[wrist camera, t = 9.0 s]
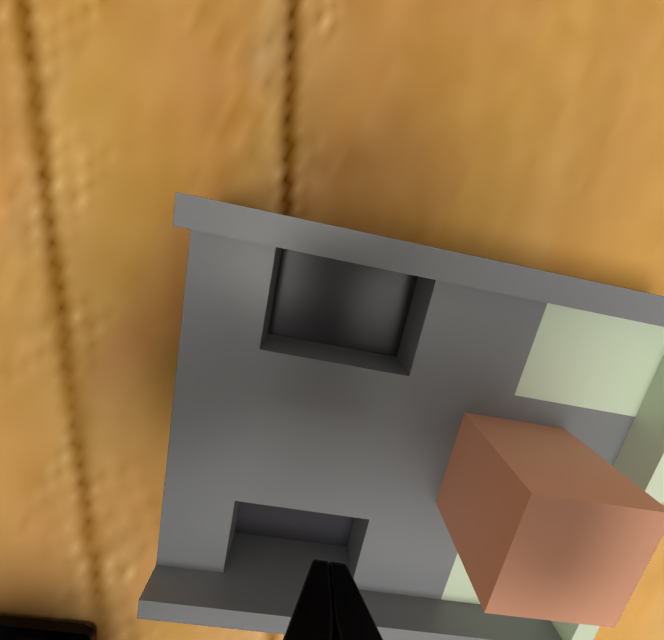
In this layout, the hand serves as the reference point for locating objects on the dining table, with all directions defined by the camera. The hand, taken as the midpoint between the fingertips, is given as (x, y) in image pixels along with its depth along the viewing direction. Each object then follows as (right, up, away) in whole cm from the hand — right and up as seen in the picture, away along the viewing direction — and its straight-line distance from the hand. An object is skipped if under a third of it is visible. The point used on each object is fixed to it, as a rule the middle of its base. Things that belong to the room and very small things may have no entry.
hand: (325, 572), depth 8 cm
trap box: (+3, +1, +8) cm, 9 cm away
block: (+7, 0, +6) cm, 10 cm away
